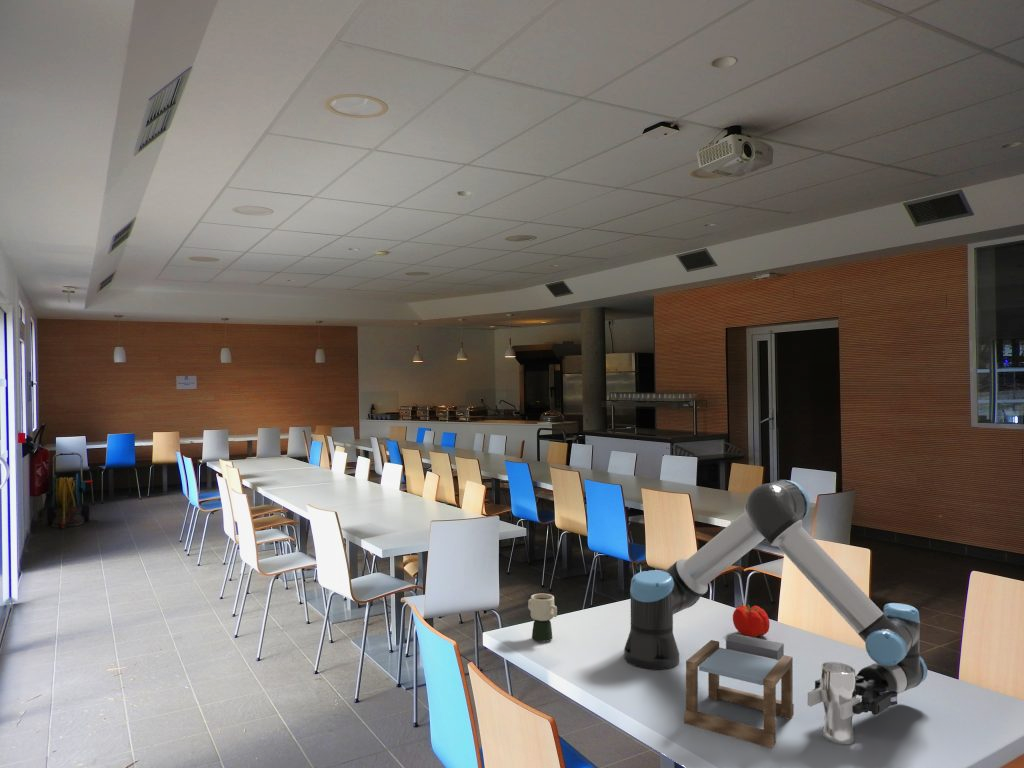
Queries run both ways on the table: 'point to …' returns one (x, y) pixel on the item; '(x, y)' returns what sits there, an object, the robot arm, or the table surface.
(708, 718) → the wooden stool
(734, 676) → the trapdoor
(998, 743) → the table surface
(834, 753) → the table surface
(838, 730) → the beer glass
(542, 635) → the character mug
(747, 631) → the tomato
